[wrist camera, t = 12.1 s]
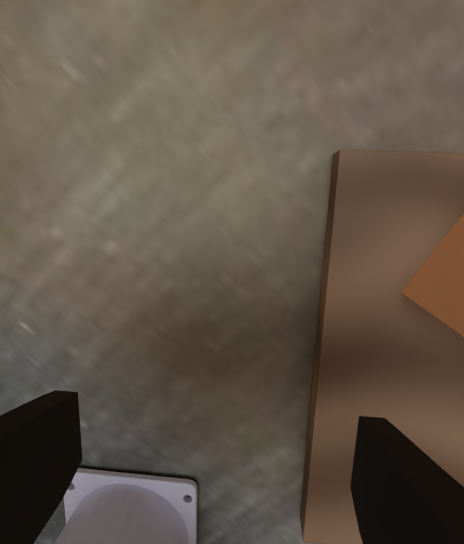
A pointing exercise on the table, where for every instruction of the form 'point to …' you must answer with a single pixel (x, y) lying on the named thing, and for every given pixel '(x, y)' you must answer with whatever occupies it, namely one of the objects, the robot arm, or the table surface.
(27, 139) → the table surface
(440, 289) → the terracotta cube
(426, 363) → the board
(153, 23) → the table surface
